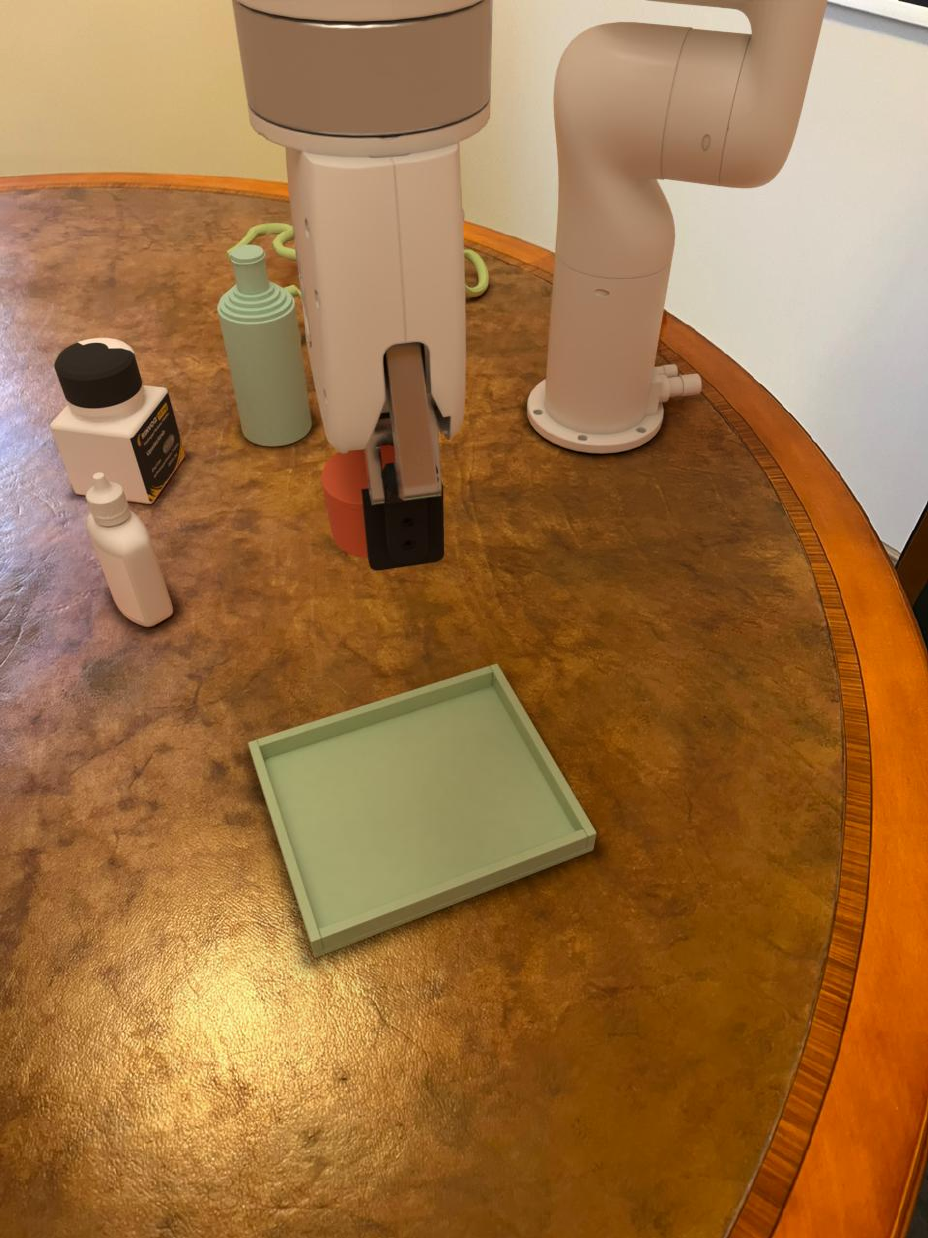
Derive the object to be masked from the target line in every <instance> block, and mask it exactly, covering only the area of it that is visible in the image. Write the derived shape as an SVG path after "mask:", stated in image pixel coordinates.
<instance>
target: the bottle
mask: <svg viewBox="0 0 928 1238" xmlns="http://www.w3.org/2000/svg"><path fill="white" fill-rule="evenodd" d="M230 257H231V262H230V263H231V264H232V269H233V273H234V279H235V284H234V285H233V286H231V287H230V289H229V290H227V291H226V292H225V293H223V295H221V297H220V298H219V301H218V304H217V307H216V310H217V311H216V312H217V315H218V320H219V325H220V330H221V335H222V340H223V344H224V345H223V346H224V349H225V355H226V359H227V365H228V369H229V374H230V378H231V379H230V380H231V384H232V389H233V395H234V399H235V404H236V408H237V414H238V418H239V422H240V428H241V432H242V435H243V436H244V438H245V439H246V440H247V441H249V442H251V443H253V444H255V445H258V446H263V447H282V446H287V445H291V444H294V443H296V442H298V441H300V440H302V439H303V438H305V436H307V435H308V434H309V433H310V431H311V429H312V425H313V421H312V414H311V407H310V400H309V393H308V385H307V378H306V371H305V364H304V357H303V349H302V348H303V347H302V340H300V335H301V333H300V334H299V331H300V327H299V320H298V313H297V305H296V300H295V298H294V296H292V295H291V294H290V293H289V292H288V291H287V290H286V289H284V288H285V287H283V286H281V285H278V284H276V283H275V282H272V281H271V280H269V275H268V274H269V273H268V269H267V262H266V252H265V250H264V248H263V247H261V246H259V245H257V244H251V245H242V246H238V247H236V248H234V249H233V250H232V251H231V252H230Z"/></svg>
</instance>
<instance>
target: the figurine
mask: <svg viewBox="0 0 928 1238" xmlns="http://www.w3.org/2000/svg"><path fill="white" fill-rule="evenodd" d="M267 235H276V236H275V237H274V239H273V240H272V242H271V243H272V244H271V245H272V248H273V251H274V252H275V254H276V255H277V256H278V257H279V258H282V259H286V260H289V261H296V262H297V259H296V251H295V248H291V247H287V246H285V245H286V244H287V243H289V242H291V241H294V235H293V227H292V224H291V225H290V224H288V223H281V222H271V223H269V222H267V223H262V224H258V225H255V226H252V227H251V228H250V229H249V230H247V233H246V234H245V235H244V236H243V237H242V238H241V239H240V240H239V241H238V242H237V243H236V244H235V245H233V246H232V247H231V248H229V249H227V250H226V251H225V256H226V260H227V262H228V263H232V262H231V257H230V252H231V251H232V250H233V249H234V248H236V247H238V246H242V245H253V243H254V242H255V240H256V239H257V238H260V237H264V236H267ZM464 259H466V260H467V261H469V262H470V263H471V264H472V265H473V266H474V268H475V270H476V272H477V276H478V281H477V285H476V286H474V287H471V286H468V285H467V284H465V297H468V298H478V297H480V296H482V295H483V294H484V293H485V292H486V291H487V290H488V288H489V283H490V279H489V276H490V275H489V271H488V267H487V264H486V263H485V260H484V258H482V257H481V256H480V255H479V254H478V253H477V252H476V251H474V250H472V249H464ZM283 288H284V289H286V290H287V291H288V292H289V293H290V294H291V295H292V296H293V297H299V298H300V301H302V298H301V290H300V289H299V288H298V287H297V286H296V285H295V284H291V285H288V286H285V287H283ZM299 334H300V341H302V335H301V332H300V330H299Z"/></svg>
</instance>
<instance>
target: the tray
mask: <svg viewBox="0 0 928 1238" xmlns="http://www.w3.org/2000/svg"><path fill="white" fill-rule="evenodd" d="M247 745H248V749H249V752H250V756H251V759H252V760H251V761H252V763H253V765H254V766H253V767H254V769H255V773H256V775H257V779H258V782H259V784H260V788H261V792H262V794H263V798H264V801H265V804H266V807H267V810H268V811H267V812H268V814H269V818H270V820H271V823H272V826H273V830H274V833H275V837H276V840H277V843H278V846H279V849H280V853H281V855H282V860H283V861H284V865H285V868H286V871H287V875H288V877H289V880H290V881H289V882H290V884H291V887H292V891H293V892H294V897H295V900H296V903H297V906H298V909H299V912H300V913H299V914H300V916H301V919H302V922H303V926H304V930H305V932H306V935H307V939H308V942H309V945H310V948H311V952H312V954H313V957H314V958H315V959H316V958H320V957H322V956H324V955H326V954H329V953H332V952H335V951H337V950H340V949H342V948H345V947H348V946H350V945H353V944H355V943H358V942H360V941H363V940H365V939H369V938H371V937H373V936H376V935H378V934H381V933H383V932H386V931H389V930H392V929H395V928H397V927H399V926H402V925H404V924H406V923H410V922H412V921H414V920H417V919H420V918H423V917H425V916H427V915H431V914H433V913H435V912H439V911H440V910H442V909H446V908H448V907H451V906H453V905H456V904H459V903H461V902H463V901H466V900H469V899H472V898H474V897H476V896H480V895H481V894H484V893H487V892H489V891H492V890H495V889H497V888H501V887H502V886H505V885H507V884H510V883H512V882H515V881H517V880H521V879H524V878H525V877H528V876H530V875H533V874H536V873H539V872H541V871H544V870H547V869H549V868H551V867H554V866H556V865H560V864H562V863H564V862H567V861H570V860H572V859H576V858H577V857H580V856H582V855H585V854H587V853H590V852H593V851H594V849H595V843H596V838H597V831H596V829H595V828H594V826H593V824H592V823H591V820H590V819H589V818H588V815H587V814H586V812H585V810H584V808H583V807H582V805H581V804H580V802H579V800H578V798H577V797H576V795H575V793H574V792H573V790H572V788H571V787H570V785H569V783H568V782H567V780H566V778H565V776H564V775H563V773H562V771H561V770H560V767H559V766H558V764H557V763H556V761H555V759H554V758H553V756H552V754H551V752H550V751H549V749H548V748H547V745H546V744H545V741H543V739H542V737H541V735H540V734H539V732H538V730H537V728H536V727H535V725H534V724H533V722H532V720H531V719H530V717H529V715H528V713H527V711H526V710H525V708H524V706H523V705H522V703H521V701H520V699H519V698H518V696H517V694H516V693H515V691H514V689H513V687H512V686H511V684H510V682H509V680H508V679H507V678H506V676H505V674H504V672H503V670H502V669H501V667H500V665H499V664H498V663H494V664H490V665H487V666H484V667H481V668H478V669H474V670H471V671H469V672H465V673H461V674H458V675H456V676H452V677H450V678H446V679H442V680H440V681H437V682H433V683H431V684H427V685H424V686H421V687H417V688H415V689H411V690H409V691H405V692H402V693H398V694H396V695H393V696H389V697H386V698H383V699H380V700H377V701H373V702H370V703H367V704H364V705H361V706H357V707H354V708H351V709H348V710H345V711H342V712H339V713H335V714H332V715H329V716H326V717H323V718H320V719H316V720H313V721H311V722H306V723H303V724H301V725H298V726H294V727H291V728H288V729H285V730H281V731H278V732H276V733H272V734H269V735H266V736H262V737H260V738H257V739H254V740H251V741H248V742H247Z"/></svg>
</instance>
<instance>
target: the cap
mask: <svg viewBox="0 0 928 1238" xmlns="http://www.w3.org/2000/svg"><path fill="white" fill-rule="evenodd" d="M380 449H381V459H382V469H383V468H384V466H385V464H387V463H395V450H394V446H392V445H383V446H380ZM320 481H321V486H322V491H323V496H324V501H325V506H326V511H327V516H328V522H329V526H330V532H331V536H332V539H333V541H334V543H335V544H336V545H337V546H338V548H339V549H341V550H342V551H343V552H345V553H347V554H349V555H351V556H353V557H357V558H362V559H368V554H367V544H366V534H365V523H364V513H363V502H362V492H361V489H367V488H368V480H367V471H366V462H365V453H364V449H363V450H351V451H348V453H343V454H342V453H340V452H339V451H337V452H336V453H335V454H334V455H332V456H331V457H330V458H329V459H328V460H327V461H326V463H325V464H324V465H323V468H322V471H321V474H320Z"/></svg>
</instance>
